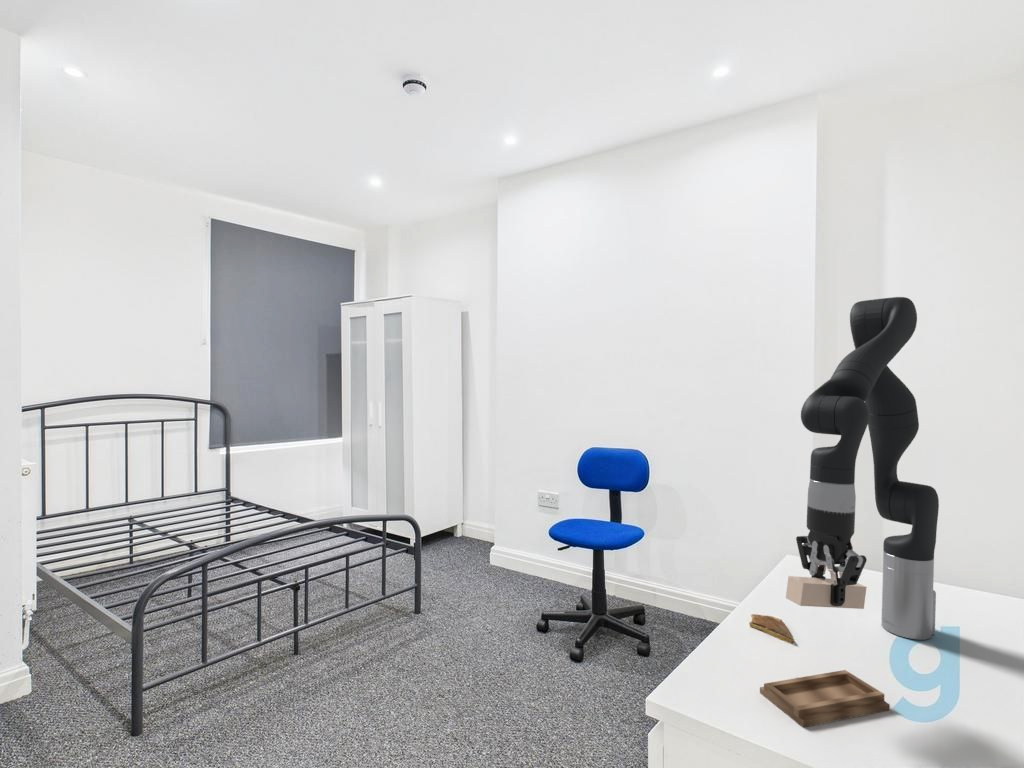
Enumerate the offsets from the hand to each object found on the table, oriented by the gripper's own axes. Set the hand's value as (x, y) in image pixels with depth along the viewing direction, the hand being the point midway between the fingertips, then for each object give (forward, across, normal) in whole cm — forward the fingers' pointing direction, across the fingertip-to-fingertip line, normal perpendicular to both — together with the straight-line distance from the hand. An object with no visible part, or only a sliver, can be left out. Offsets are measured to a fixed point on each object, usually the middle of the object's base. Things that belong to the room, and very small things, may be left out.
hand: (827, 600), depth 100 cm
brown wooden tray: (+16, -3, +3) cm, 17 cm away
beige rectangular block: (+1, 0, 0) cm, 1 cm away
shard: (+17, +22, -9) cm, 29 cm away
